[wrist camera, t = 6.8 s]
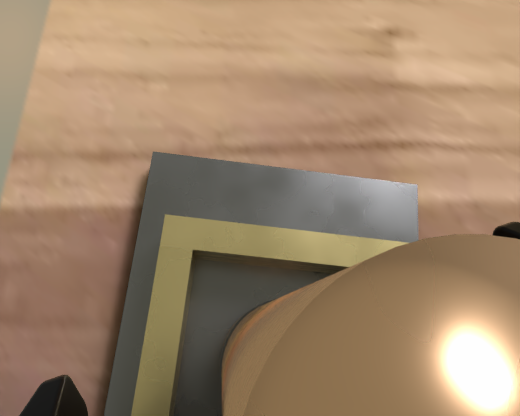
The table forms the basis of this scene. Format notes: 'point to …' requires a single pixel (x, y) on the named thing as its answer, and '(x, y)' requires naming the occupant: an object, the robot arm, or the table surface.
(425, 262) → the tube
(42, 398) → the robot arm
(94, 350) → the table surface
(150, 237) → the framed base plate
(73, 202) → the table surface
